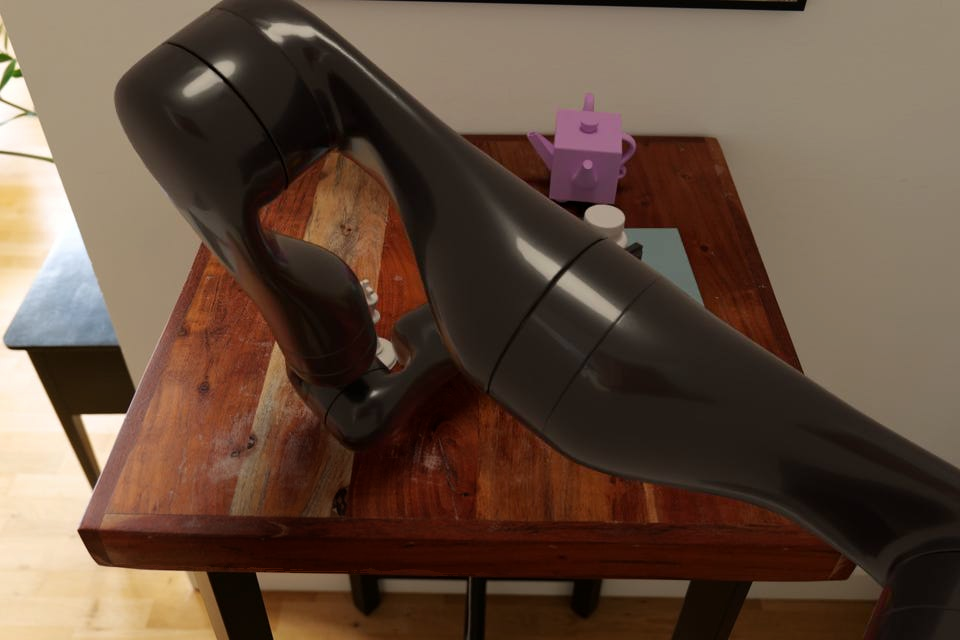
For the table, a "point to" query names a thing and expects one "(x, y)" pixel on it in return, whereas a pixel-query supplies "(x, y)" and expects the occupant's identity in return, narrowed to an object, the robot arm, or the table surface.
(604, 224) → the pill bottle
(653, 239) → the cloth mat
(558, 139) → the teapot
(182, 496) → the table surface
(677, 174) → the table surface
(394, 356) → the chess piece
